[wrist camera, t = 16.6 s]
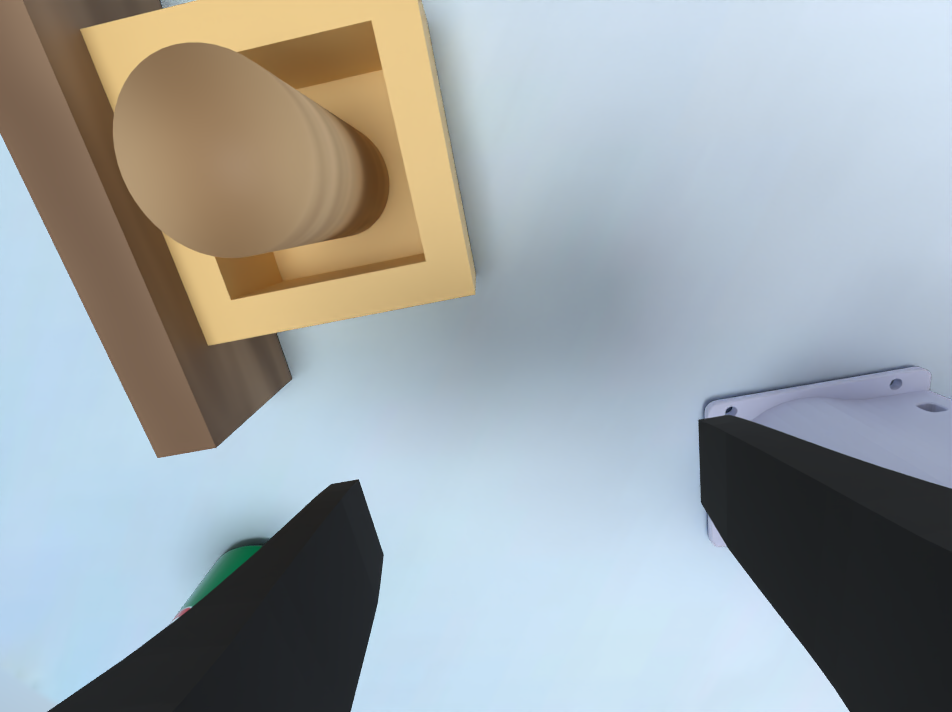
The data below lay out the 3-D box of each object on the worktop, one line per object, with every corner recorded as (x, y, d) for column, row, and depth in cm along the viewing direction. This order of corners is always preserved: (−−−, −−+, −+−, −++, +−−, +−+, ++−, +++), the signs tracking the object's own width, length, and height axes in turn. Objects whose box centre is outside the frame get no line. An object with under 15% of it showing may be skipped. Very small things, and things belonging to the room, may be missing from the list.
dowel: (373, 111, 16) (274, 19, 8) (400, 225, 17) (336, 238, 9) (267, 135, 16) (76, 67, 8) (302, 245, 17) (163, 273, 10)
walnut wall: (152, -21, 15) (-48, -163, 9) (292, 378, 20) (215, 447, 14) (98, -7, 15) (-132, -139, 9) (250, 386, 20) (157, 457, 14)
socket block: (427, 21, 15) (407, -52, 11) (476, 274, 18) (475, 294, 14) (186, 77, 16) (79, 28, 12) (269, 314, 19) (208, 345, 14)
